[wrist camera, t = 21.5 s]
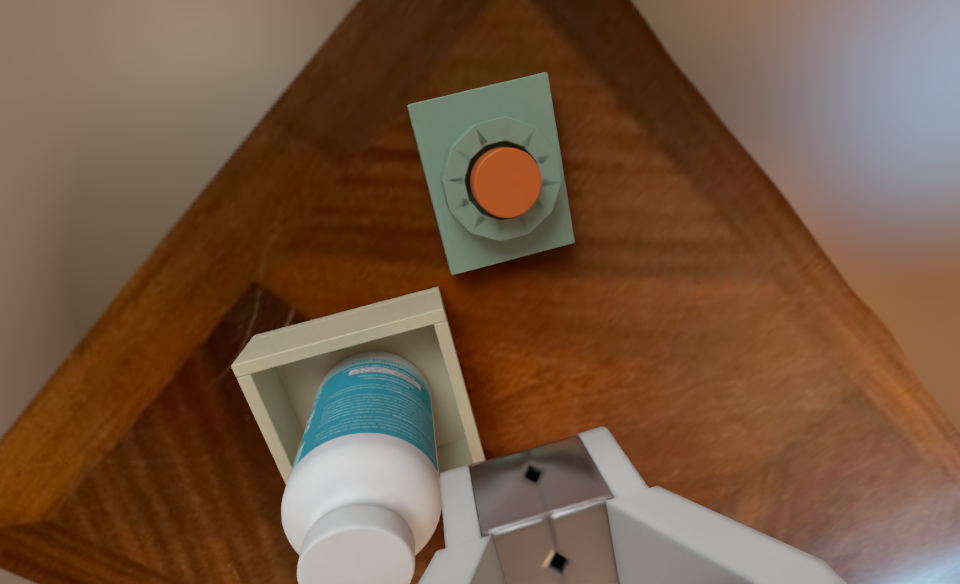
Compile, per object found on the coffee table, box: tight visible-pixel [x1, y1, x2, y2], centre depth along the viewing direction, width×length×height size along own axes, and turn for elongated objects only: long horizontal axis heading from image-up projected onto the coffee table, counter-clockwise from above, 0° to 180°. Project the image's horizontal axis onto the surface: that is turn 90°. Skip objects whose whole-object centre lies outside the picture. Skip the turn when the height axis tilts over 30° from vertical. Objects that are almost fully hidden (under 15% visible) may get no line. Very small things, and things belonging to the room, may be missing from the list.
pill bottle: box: [281, 351, 442, 584], centre depth 25 cm, size 8×7×14 cm
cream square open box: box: [231, 287, 485, 485], centre depth 30 cm, size 12×12×4 cm
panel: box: [407, 72, 575, 275], centre depth 27 cm, size 10×8×4 cm
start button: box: [470, 147, 541, 218], centre depth 25 cm, size 4×4×2 cm
